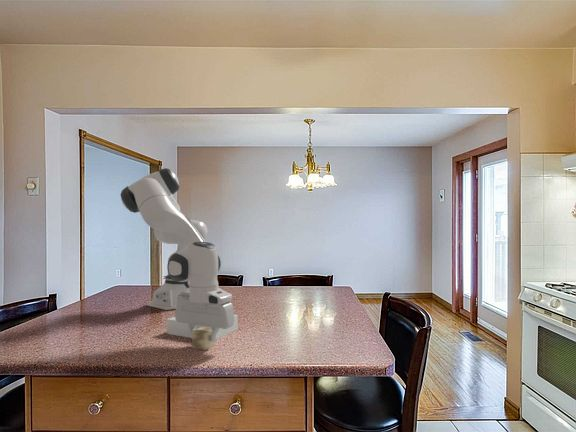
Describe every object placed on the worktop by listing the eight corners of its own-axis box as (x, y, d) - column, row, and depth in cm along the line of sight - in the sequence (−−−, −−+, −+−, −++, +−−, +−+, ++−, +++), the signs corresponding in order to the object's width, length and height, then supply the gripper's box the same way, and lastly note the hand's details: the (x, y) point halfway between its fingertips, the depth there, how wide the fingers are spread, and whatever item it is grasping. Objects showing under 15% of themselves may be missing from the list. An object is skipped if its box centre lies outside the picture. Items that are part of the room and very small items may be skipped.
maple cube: (192, 347, 116) (192, 331, 116) (202, 342, 120) (202, 327, 120) (205, 350, 114) (205, 333, 114) (215, 345, 118) (215, 329, 118)
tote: (166, 333, 130) (166, 319, 130) (195, 322, 143) (195, 309, 143) (212, 341, 122) (212, 325, 122) (237, 329, 135) (237, 315, 135)
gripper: (170, 293, 119) (170, 337, 118) (225, 299, 110) (225, 347, 110) (184, 290, 124) (184, 332, 124) (237, 295, 116) (236, 340, 115)
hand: (203, 339), depth 117 cm, fingers closed on maple cube, 5 cm apart
